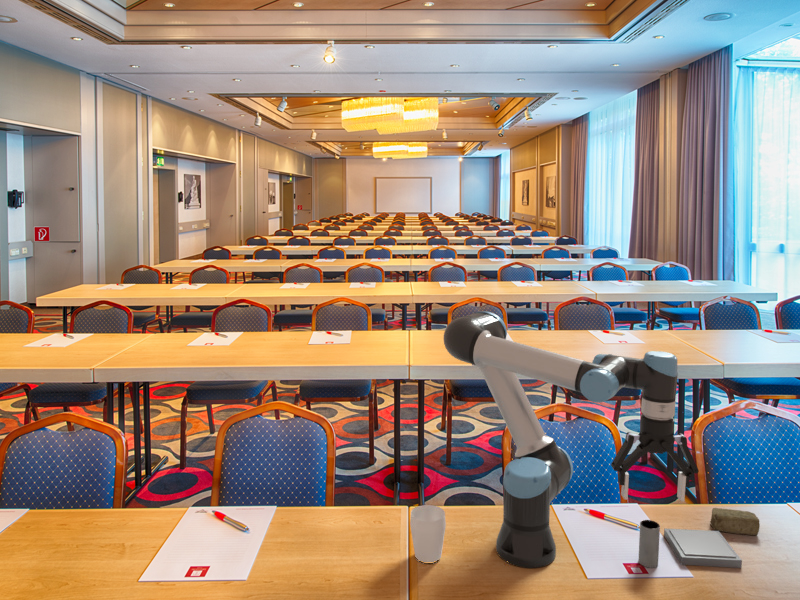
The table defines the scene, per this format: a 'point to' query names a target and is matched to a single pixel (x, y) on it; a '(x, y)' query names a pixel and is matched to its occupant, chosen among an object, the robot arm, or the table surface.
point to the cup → (428, 532)
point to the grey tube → (649, 543)
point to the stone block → (735, 521)
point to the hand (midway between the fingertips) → (652, 498)
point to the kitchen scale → (702, 548)
